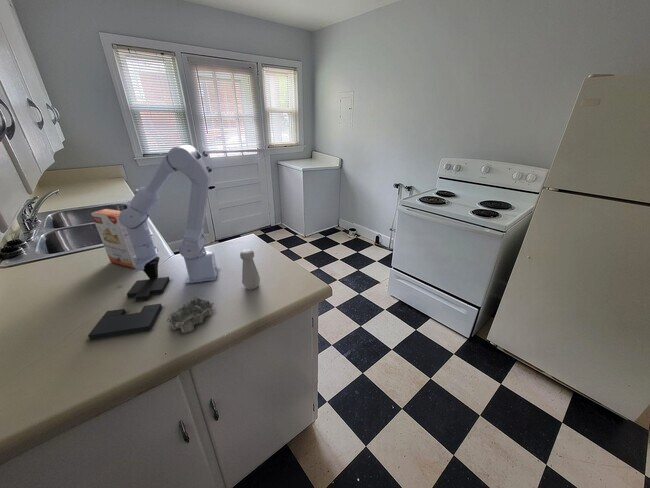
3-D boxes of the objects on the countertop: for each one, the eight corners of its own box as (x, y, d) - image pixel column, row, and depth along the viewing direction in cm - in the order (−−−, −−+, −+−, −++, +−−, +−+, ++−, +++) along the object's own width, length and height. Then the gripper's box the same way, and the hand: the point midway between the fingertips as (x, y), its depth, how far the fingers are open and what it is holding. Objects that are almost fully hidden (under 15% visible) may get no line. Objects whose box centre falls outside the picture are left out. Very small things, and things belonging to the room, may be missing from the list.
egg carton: (186, 335, 69) (182, 323, 68) (166, 327, 72) (162, 315, 70) (217, 311, 78) (214, 299, 76) (198, 305, 81) (195, 293, 79)
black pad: (169, 280, 94) (168, 276, 93) (160, 298, 84) (158, 294, 84) (138, 284, 92) (136, 280, 91) (124, 303, 82) (122, 299, 82)
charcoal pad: (162, 307, 80) (160, 303, 80) (150, 330, 71) (149, 325, 71) (108, 315, 77) (107, 310, 77) (89, 339, 68) (87, 335, 68)
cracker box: (109, 263, 107) (89, 212, 98) (124, 256, 112) (107, 207, 103) (132, 269, 102) (114, 216, 93) (147, 262, 107) (131, 211, 98)
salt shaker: (264, 283, 91) (260, 249, 86) (253, 292, 86) (248, 256, 81) (250, 280, 93) (245, 246, 88) (239, 288, 89) (233, 253, 83)
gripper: (137, 236, 93) (148, 270, 99) (118, 254, 80) (132, 292, 86) (160, 233, 95) (169, 267, 100) (144, 251, 82) (156, 288, 87)
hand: (154, 278), depth 93 cm, fingers closed
